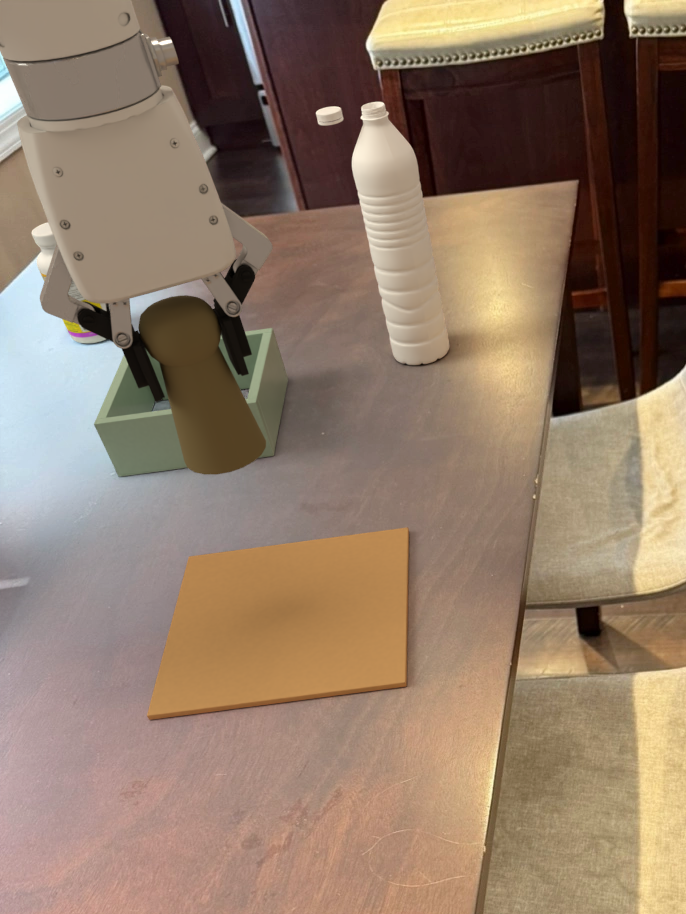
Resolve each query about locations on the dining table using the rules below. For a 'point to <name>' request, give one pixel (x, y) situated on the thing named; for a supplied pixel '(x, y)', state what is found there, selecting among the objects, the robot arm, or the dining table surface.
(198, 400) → the pepper shaker
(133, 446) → the open box
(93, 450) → the dining table surface
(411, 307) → the bottle and cap
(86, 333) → the supplement bottle
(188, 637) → the mat
